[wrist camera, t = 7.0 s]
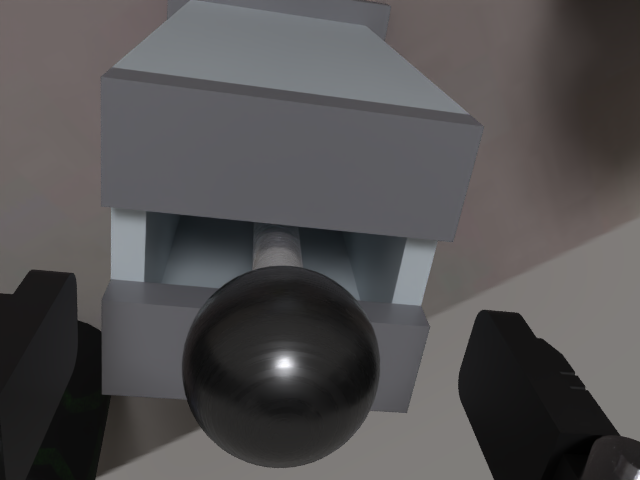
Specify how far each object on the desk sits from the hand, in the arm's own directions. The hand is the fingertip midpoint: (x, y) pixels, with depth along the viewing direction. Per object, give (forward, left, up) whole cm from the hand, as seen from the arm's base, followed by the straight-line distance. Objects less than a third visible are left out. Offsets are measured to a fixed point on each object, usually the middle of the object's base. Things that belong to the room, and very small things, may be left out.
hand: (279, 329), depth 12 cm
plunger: (0, 0, -14) cm, 14 cm away
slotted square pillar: (0, 0, -20) cm, 20 cm away
